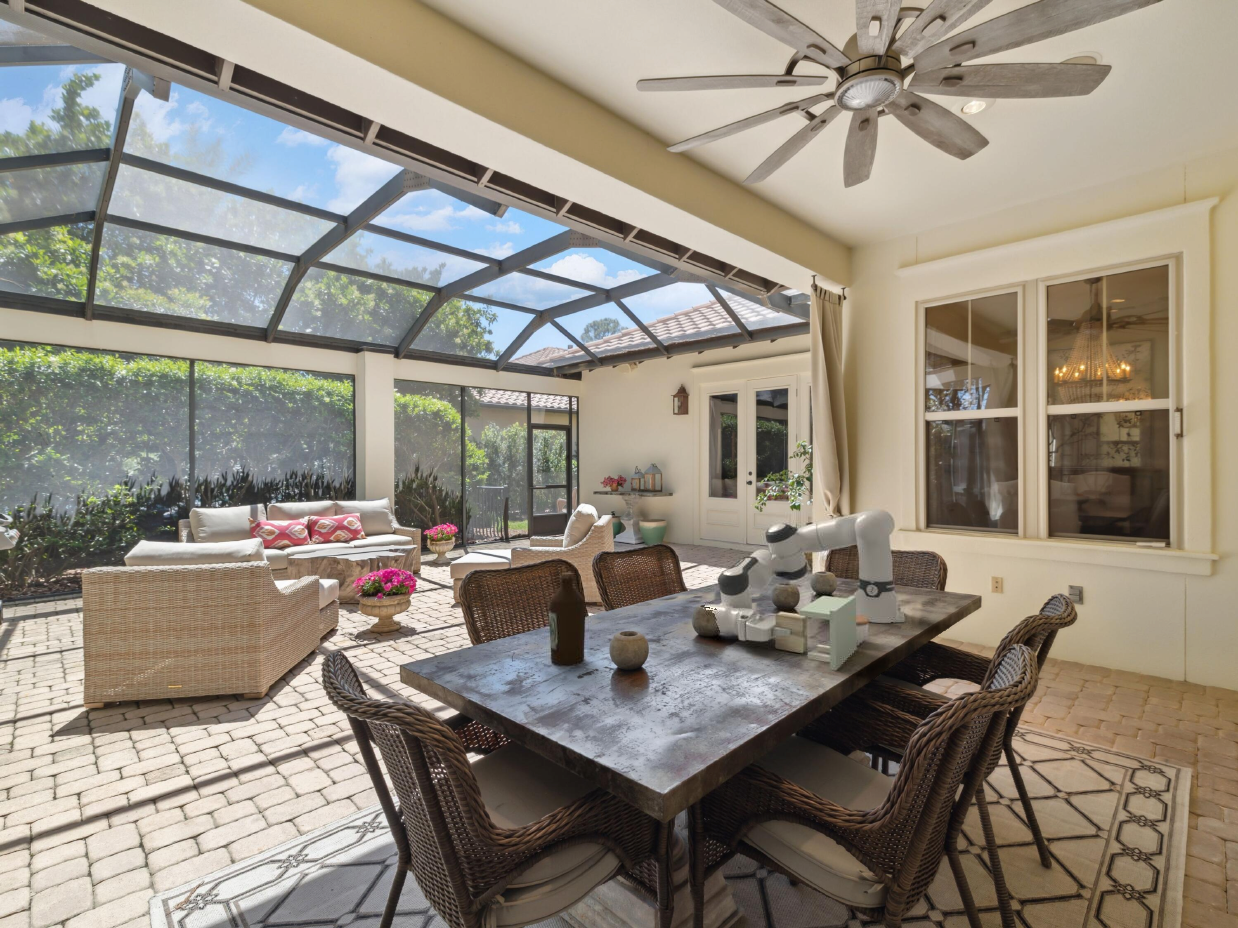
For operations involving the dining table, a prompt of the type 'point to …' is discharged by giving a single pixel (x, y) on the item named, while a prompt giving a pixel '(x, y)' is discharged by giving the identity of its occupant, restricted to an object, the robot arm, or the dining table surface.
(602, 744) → the dining table surface
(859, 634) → the lidded jar
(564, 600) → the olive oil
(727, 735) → the dining table surface
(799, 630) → the birch box
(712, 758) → the dining table surface
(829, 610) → the hutch
